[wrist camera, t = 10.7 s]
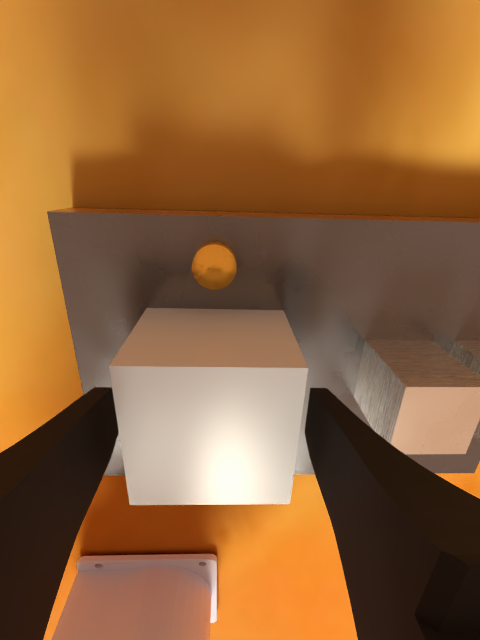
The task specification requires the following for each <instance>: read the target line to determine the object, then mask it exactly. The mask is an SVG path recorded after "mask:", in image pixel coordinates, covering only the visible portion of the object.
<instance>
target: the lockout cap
mask: <svg viewBox="0 0 480 640" xmlns="http://www.w3.org/2000/svg"><path fill="white" fill-rule="evenodd" d="M109 369H110V376H111V383H112V389H113V396H114V403H115V410H116V416H117V423H118V430H119V437H120V443H121V450H122V457H123V463H124V470H125V477H126V484H127V490H128V497H129V504H130V505H226V504H290V500H291V492H292V485H293V478H294V470H295V463H296V455H297V448H298V441H299V433H300V426H301V418H302V411H303V403H304V396H305V389H306V381H307V374H308V366H307V364H306V362H305V359H304V357H303V355H302V352H301V350H300V348H299V345H298V343H297V341H296V338H295V336H294V334H293V331H292V329H291V327H290V324H289V322H288V320H287V317H286V315H285V313H284V310H239V309H184V308H146V310H145V311H144V313H143V314H142V316H141V318H140V319H139V321H138V322H137V324H136V325H135V327H134V328H133V330H132V331H131V333H130V334H129V336H128V338H127V339H126V341H125V342H124V344H123V345H122V347H121V348H120V350H119V351H118V353H117V355H116V356H115V358H114V359H113V361H112V362H111V364H110V365H109Z"/></svg>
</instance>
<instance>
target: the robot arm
mask: <svg viewBox="0 0 480 640" xmlns="http://www.w3.org/2000/svg"><path fill="white" fill-rule="evenodd" d="M304 432H305V437H306V442H307V447H308V452H309V457H310V460H311V463H312V466H313V469H314V472H315V475H316V478H317V481H318V484H319V487H320V490H321V493H322V496H323V499H324V502H325V505H326V507H327V510H328V513H329V516H330V519H331V523H332V526H333V529H334V533H335V537H336V541H337V545H338V550H339V554H340V558H341V562H342V566H343V571H344V575H345V580H346V584H347V589H348V593H349V598H350V602H351V607H352V612H353V617H354V622H355V627H356V632H357V636H358V640H480V499H479V498H477V497H475V496H473V495H471V494H469V493H467V492H466V491H464V490H462V489H460V488H458V487H456V486H455V485H453V484H451V483H449V482H448V481H446V480H444V479H443V478H441V477H439V476H438V475H436V474H434V473H433V472H431V471H429V470H428V469H426V468H425V467H423V466H422V465H420V464H418V463H417V462H415V461H414V460H413V459H411V458H410V457H408V456H407V455H405V454H404V453H402V452H401V451H400V450H398V449H397V448H395V447H394V446H393V445H391V444H390V443H389V442H388V441H386V440H385V439H384V438H383V437H381V436H380V435H379V434H378V433H376V432H375V431H374V430H373V429H371V428H370V427H369V426H368V425H367V424H366V423H364V422H363V421H362V420H361V419H360V418H359V417H358V416H356V415H355V414H354V413H353V412H352V411H351V410H350V409H349V408H348V407H347V406H346V405H345V404H343V403H342V402H341V401H340V400H339V399H338V398H337V397H336V396H335V395H334V394H333V393H332V392H331V391H330V390H328V389H327V388H310V394H309V401H308V409H307V416H306V424H305V431H304ZM118 433H119V430H118V424H117V417H116V411H115V404H114V398H113V391H112V387H94V388H93V389H91V390H90V391H88V392H87V393H86V394H84V395H83V396H82V397H80V398H79V399H78V400H76V401H75V402H74V403H72V404H71V405H70V406H68V407H67V408H66V409H64V410H63V411H62V412H60V413H59V414H58V415H56V416H55V417H54V418H52V419H51V420H49V421H48V422H47V423H45V424H44V425H42V426H41V427H39V428H38V429H36V430H35V431H34V432H32V433H31V434H29V435H28V436H26V437H25V438H23V439H22V440H20V441H19V442H17V443H16V444H14V445H13V446H11V447H9V448H8V449H6V450H5V451H3V452H1V453H0V640H43V638H44V634H45V631H46V628H47V624H48V621H49V618H50V614H51V611H52V608H53V605H54V602H55V599H56V595H57V592H58V589H59V586H60V583H61V580H62V577H63V574H64V571H65V568H66V565H67V562H68V559H69V556H70V553H71V551H72V548H73V545H74V542H75V539H76V536H77V534H78V531H79V529H80V526H81V524H82V521H83V519H84V517H85V515H86V513H87V510H88V508H89V506H90V504H91V502H92V499H93V497H94V495H95V493H96V491H97V488H98V486H99V484H100V482H101V480H102V477H103V475H104V473H105V471H106V468H107V466H108V464H109V462H110V459H111V456H112V453H113V450H114V447H115V443H116V440H117V437H118ZM77 569H78V573H77V575H76V578H75V581H74V583H73V586H72V588H71V591H70V594H69V596H68V599H67V601H66V604H65V607H64V609H63V612H62V614H61V617H60V619H59V622H58V625H57V627H56V630H55V632H54V635H53V638H52V640H210V623H214V622H216V621H217V556H215V555H214V554H161V555H104V556H82V557H80V558H79V559H78V562H77Z"/></svg>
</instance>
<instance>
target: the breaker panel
mask: <svg viewBox="0 0 480 640" xmlns="http://www.w3.org/2000/svg"><path fill="white" fill-rule="evenodd" d="M47 213H48V218H49V223H50V228H51V233H52V238H53V243H54V248H55V253H56V258H57V263H58V268H59V274H60V279H61V284H62V289H63V294H64V299H65V304H66V309H67V314H68V319H69V324H70V329H71V334H72V339H73V344H74V349H75V354H76V359H77V364H78V369H79V374H80V379H81V384H82V389H83V394H86V393H87V392H88V391H90V390H91V389H93V388H94V387H112V383H111V376H110V369H109V365H110V364H111V362H112V361H113V359H114V358H115V356H116V355H117V353H118V351H119V350H120V348H121V347H122V345H123V344H124V342H125V341H126V339H127V338H128V336H129V334H130V333H131V331H132V330H133V328H134V327H135V325H136V324H137V322H138V321H139V319H140V318H141V316H142V314H143V313H144V311H145V310H146V308H184V309H239V310H284V313H285V315H286V317H287V320H288V322H289V324H290V327H291V329H292V331H293V334H294V336H295V338H296V341H297V343H298V345H299V348H300V350H301V352H302V355H303V357H304V359H305V362H306V364H307V366H308V374H307V381H306V389H305V396H304V403H303V411H302V418H301V426H300V433H299V441H298V448H297V455H296V463H295V470H294V474H315V472H314V469H313V466H312V463H311V460H310V457H309V452H308V447H307V442H306V437H305V432H304V431H305V424H306V416H307V409H308V401H309V394H310V388H327V389H328V390H330V391H331V392H332V393H333V394H334V395H335V396H336V397H337V398H338V399H339V400H340V401H341V402H342V403H343V404H345V405H346V406H347V407H348V408H349V409H350V410H351V411H352V412H353V413H354V414H355V415H356V416H358V417H359V418H360V419H361V420H362V421H363V422H364V423H366V424H367V425H368V426H369V427H370V428H371V429H373V430H374V431H375V432H376V433H378V434H379V435H380V436H381V437H383V438H384V439H385V440H386V441H388V442H389V443H390V444H391V445H393V446H394V447H395V448H397V449H398V450H400V451H401V452H402V453H404V454H405V455H407V456H408V457H410V458H411V459H413V460H414V461H415V462H417V463H418V464H420V465H422V466H423V467H425V468H426V469H428V470H429V471H431V472H433V473H475V470H476V468H477V466H478V463H479V461H480V218H456V217H417V216H379V215H340V214H301V213H262V212H223V211H184V210H145V209H106V208H67V209H61V210H55V211H48V212H47ZM112 391H113V389H112ZM113 398H114V396H113ZM114 404H115V403H114ZM115 411H116V410H115ZM116 417H117V416H116ZM117 424H118V423H117ZM103 476H125V470H124V463H123V457H122V450H121V443H120V437H119V433H118V437H117V440H116V443H115V447H114V450H113V453H112V456H111V459H110V462H109V464H108V466H107V468H106V471H105V473H104V475H103Z"/></svg>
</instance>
